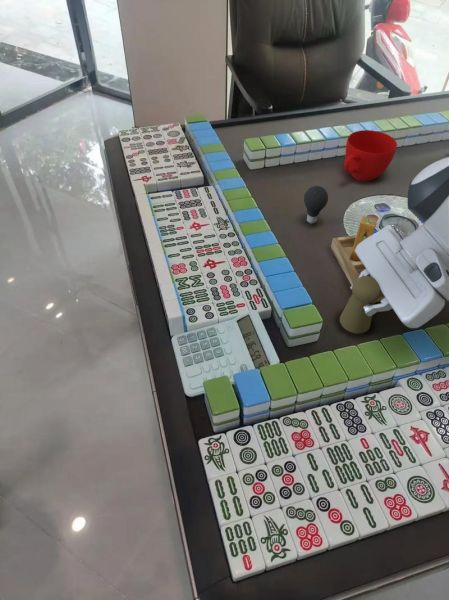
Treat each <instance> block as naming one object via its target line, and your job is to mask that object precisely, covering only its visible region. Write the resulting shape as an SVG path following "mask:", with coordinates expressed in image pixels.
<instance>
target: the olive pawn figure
mask: <svg viewBox="0 0 449 600" xmlns="http://www.w3.org/2000/svg"><path fill="white" fill-rule="evenodd" d="M351 286H352V285H351ZM380 295H381V290H380V286H379V284H378V282H377V281H376V280H375V279H374V278H373V277H369V276H362V277H360V278H358V279H356V280H355V282H354V283H353V286H352V290H351V295H350V297H349V299H348V301H347V303H346V305H345V307H344V309H343V310H342V312H341V313H340V316H339V324H340V325H341V327H342V328H343V329H344V330H346V331H348V332H350V333H352V334H364V333H366V332H368V331H369V330H370V329H371V324H372V319H373V315H372V316H368V315H366V314H365V312H364V310H363V307H364V306H366V305H367V304H368V303H371V304H372V305H375V303H376V302H375V301H376V300H377V299H378V298H379V297H380Z"/></svg>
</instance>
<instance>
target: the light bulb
mask: <svg viewBox="0 0 449 600" xmlns="http://www.w3.org/2000/svg"><path fill="white" fill-rule="evenodd" d="M328 201H329V195H328V191H327V190H326V189H325V188H324V187H322V186H320V185H313V186H311V187H309V188H308V189H307V190H306V191H305V193H304V195H303V202H304V203H303V204H304V205H305V208H306V213H307V215H306V216H307V217H306V221H307V222H308V223H309V224H311V225H313V224H314V223H317V221H318V217H319V215H320V213H321V211H322V210H323V209H324V208H325V207H326V206H327V204H328Z"/></svg>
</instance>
